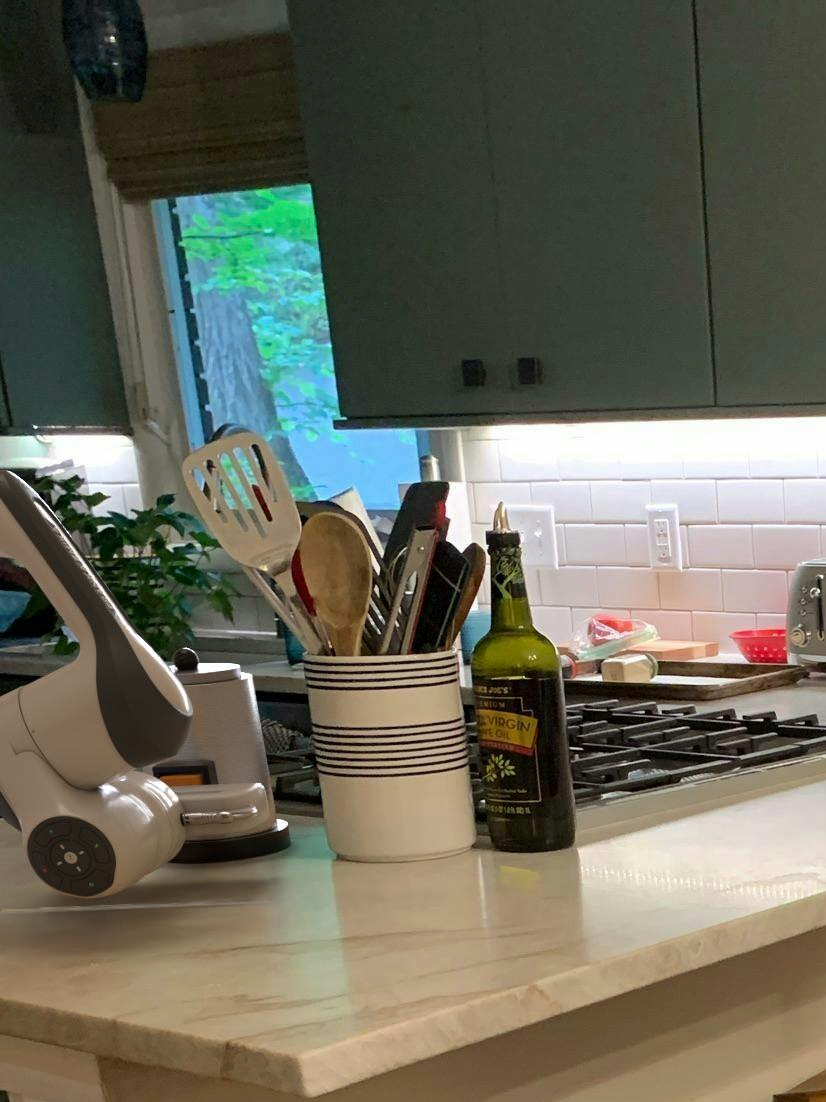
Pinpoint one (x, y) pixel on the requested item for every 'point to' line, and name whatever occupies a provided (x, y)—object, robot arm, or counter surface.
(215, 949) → the counter surface
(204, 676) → the kettle
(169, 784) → the switch
